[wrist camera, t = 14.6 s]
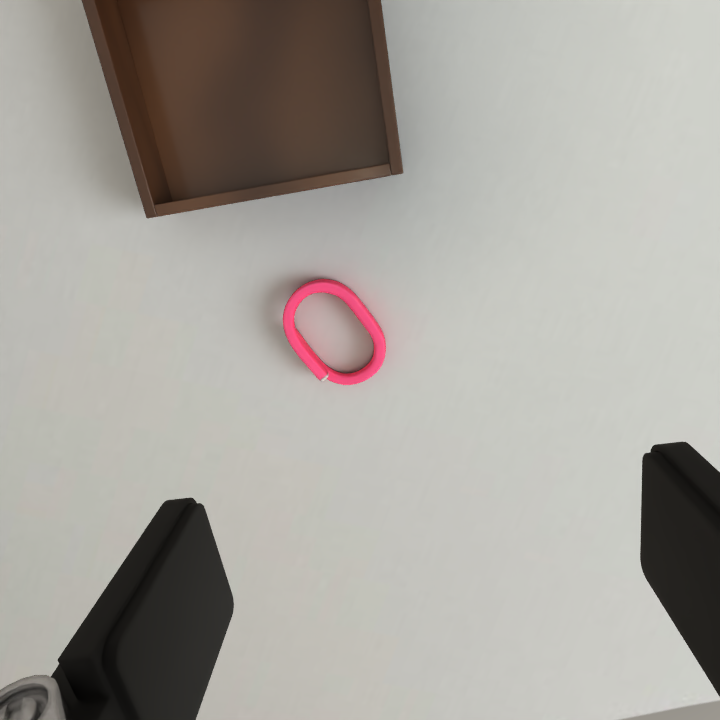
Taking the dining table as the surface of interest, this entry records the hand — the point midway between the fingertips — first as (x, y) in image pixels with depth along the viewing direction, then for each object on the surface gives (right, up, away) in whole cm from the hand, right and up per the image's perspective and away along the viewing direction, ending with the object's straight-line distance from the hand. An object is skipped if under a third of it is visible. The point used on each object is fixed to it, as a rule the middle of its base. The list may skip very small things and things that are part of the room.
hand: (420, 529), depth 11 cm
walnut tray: (-7, +21, +21) cm, 30 cm away
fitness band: (-3, +6, +26) cm, 27 cm away
